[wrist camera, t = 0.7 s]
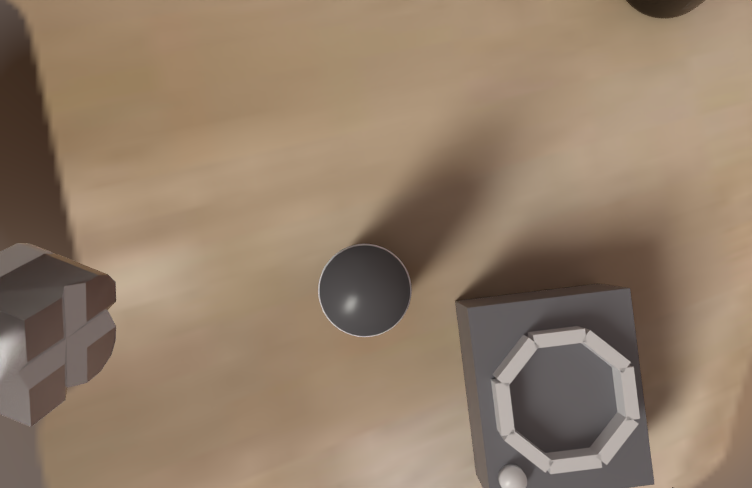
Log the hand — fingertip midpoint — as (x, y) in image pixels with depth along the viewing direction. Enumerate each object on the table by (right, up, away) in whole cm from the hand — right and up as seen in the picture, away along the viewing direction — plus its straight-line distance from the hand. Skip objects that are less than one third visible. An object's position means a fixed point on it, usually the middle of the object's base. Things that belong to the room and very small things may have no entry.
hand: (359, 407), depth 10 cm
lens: (-1, 0, +39) cm, 39 cm away
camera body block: (+11, -7, +39) cm, 42 cm away
